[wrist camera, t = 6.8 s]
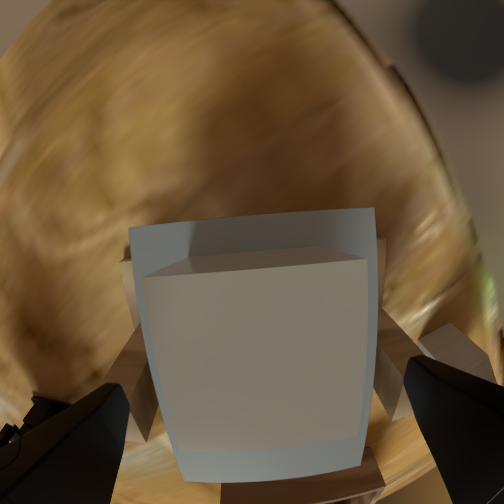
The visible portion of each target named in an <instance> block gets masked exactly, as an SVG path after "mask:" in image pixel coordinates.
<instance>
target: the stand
mask: <svg viewBox="0 0 504 504" xmlns="http://www.w3.org/2000/svg"><path fill="white" fill-rule="evenodd" d="M376 238H377V259H378V325H377V346H376V360H375V372H374V382H373V388H374V390H375V391H376V393H377V395H378V397H379V399H380V400H381V402H382V404H383V406H384V408H385V410H386V412H387V413H388V415H389V417H390V419H391V421H394V420H398V419H401V418H404V417H407V416H410V415H413V414H414V412H413V410H412V407H411V404H410V401H409V398H408V396H407V393H406V390H405V388H404V384H403V378H404V374H405V370H406V366H407V362H408V359H409V358H410V357H412V356H416V355H419V354H423V355H425V354H424V353H423V352H422V351H421V350H420V348H419V347H418V346H417V345H416V344H415V343H414V342H413V341H412V340H411V339H410V337H409V336H408V335H407V334H406V333H405V332H404V331H403V330H402V329H401V328H400V327H399V326H398V325H397V323H396V322H395V321H394V320H393V319H392V318H391V317H390V316H389V315H388V314H387V313H386V312H385V311H384V310H383V309H382V304H383V293H384V281H385V267H386V245H387V239H385V238H383V237H376ZM119 264H120V269H121V273H122V278H123V283H124V287H125V291H126V296H127V300H128V304H129V308H130V312H131V316H132V320H133V323H134V327H135V331H134V332H133V334H132V335H131V337H130V338H129V340H128V342H127V343H126V345H125V346H124V348H123V349H122V351H121V352H120V354H119V356H118V357H117V359H116V360H115V362H114V364H113V365H112V367H111V368H110V370H109V372H108V373H107V375H106V377H105V378H104V380H103V381H102V383H101V385H100V386H102V385H103V384H105V383H107V382H114V383H119V384H121V385H122V387H123V390H124V392H125V394H126V397H127V399H128V401H129V404H130V414H129V420H128V426H127V432H126V438H125V440H126V441H133V442H141V443H147V439H148V436H149V433H150V430H151V427H152V424H153V421H154V418H155V414H156V411H157V408H158V405H159V402H158V399H157V395H156V391H155V387H154V383H153V379H152V375H151V371H150V366H149V362H148V357H147V353H146V348H145V343H144V338H143V333H142V327H141V322H140V316H139V310H138V304H137V298H136V291H135V284H134V276H133V268H132V259H131V258H124V259H122V260H121V261H120V262H119ZM425 356H426V355H425ZM100 386H99V387H100Z"/></svg>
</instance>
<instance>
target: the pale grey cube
mask: <svg viewBox="0 0 504 504" xmlns="http://www.w3.org/2000/svg"><path fill="white" fill-rule="evenodd" d="M142 286H143V293H144V300H145V306H146V313H147V319H148V325H149V330H150V336H151V341H152V346H153V351H154V356H155V361H156V365H157V370H158V374H159V378H160V383H161V387H162V391H163V395H164V399H165V403H166V406H167V410H168V414H169V417H170V421H171V424H172V428H173V431H174V435H175V438H176V441H177V444H178V447H179V451H201V452H231V451H254V450H268V449H279V448H288V447H296V446H303V445H310V444H316V443H322V442H328V441H333V440H338V439H343V438H347V437H352V436H356V435H358V432H359V425H360V418H361V410H362V401H363V391H364V380H365V368H366V352H367V329H368V268H367V258H363V257H359V256H355V255H351V254H346V253H342V252H338V251H334V250H330V249H326V248H322V247H318V246H314V247H302V248H290V249H278V250H267V251H255V252H243V253H231V254H219V255H207V256H195V257H187V258H185V259H182V260H180V261H178V262H175V263H173V264H171V265H169V266H166V267H164V268H162V269H160V270H157V271H155V272H153V273H151V274H148V275H146V276H144V277H142Z"/></svg>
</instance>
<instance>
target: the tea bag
mask: <svg viewBox="0 0 504 504" xmlns="http://www.w3.org/2000/svg"><path fill="white" fill-rule="evenodd" d="M418 347H419V348H420V350H421V351H422V352H423V353H424V354H425V355H426V356H428V357H430V358H432V359H435V360H437V361H440V362H442V363H445V364H447V365H450V366H452V367H455V368H457V369H460V370H462V371H465V372H467V373H470V374H472V375H475V376H477V377H480V378H482V379H485V380H487V381H490V382H493V383H495V384H497V382H496V379H495V376H494V372H493V369H492V366H491V363H490V359H489V356H488V355H487V354H486V353H485V352H484V351H483V350H482V349H481V348H480V347H478V346H477V345H476V344H475V343H474V342H473V341H472V340H470V339H469V338H468V337H467V336H466V335H465V334H463V333H462V332H461V331H460V330H459V329H457V328H456V327H455V326H454V325H453V324H452V323H450V322H449V323H447V324H445V325H444V326H442V327H440V328H438V329H436V330H435V331H433V332H431V333H429V334H427V335H425V336H424V337H422V338H420V339H418Z"/></svg>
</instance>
